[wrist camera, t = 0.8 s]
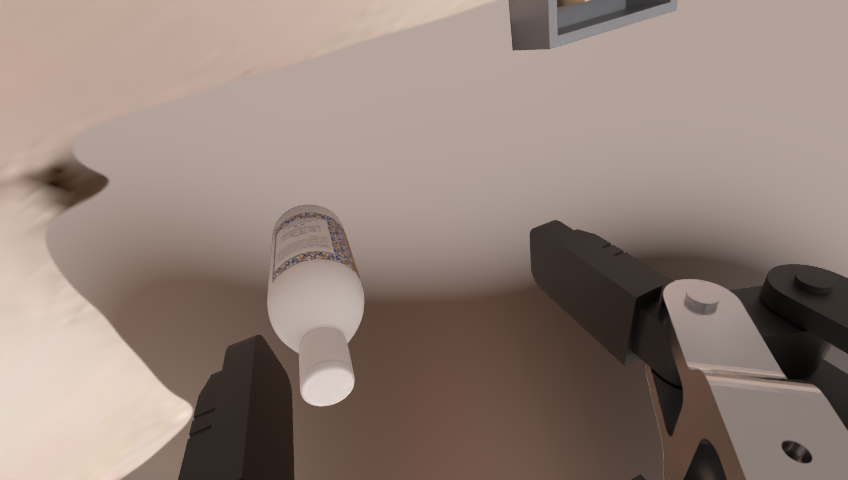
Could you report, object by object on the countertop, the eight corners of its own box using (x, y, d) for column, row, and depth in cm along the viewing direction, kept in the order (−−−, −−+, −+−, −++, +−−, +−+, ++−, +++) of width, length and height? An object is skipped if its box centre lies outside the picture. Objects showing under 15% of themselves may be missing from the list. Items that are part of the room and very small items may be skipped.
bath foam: (334, 267, 39) (370, 428, 22) (267, 258, 35) (248, 437, 19) (351, 210, 36) (405, 342, 19) (280, 195, 33) (273, 335, 16)
